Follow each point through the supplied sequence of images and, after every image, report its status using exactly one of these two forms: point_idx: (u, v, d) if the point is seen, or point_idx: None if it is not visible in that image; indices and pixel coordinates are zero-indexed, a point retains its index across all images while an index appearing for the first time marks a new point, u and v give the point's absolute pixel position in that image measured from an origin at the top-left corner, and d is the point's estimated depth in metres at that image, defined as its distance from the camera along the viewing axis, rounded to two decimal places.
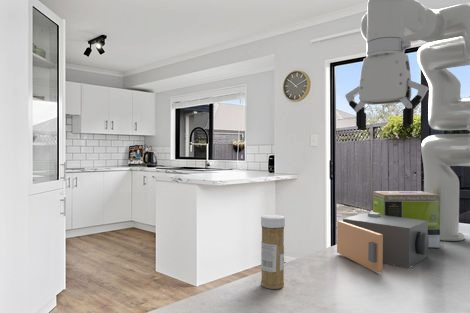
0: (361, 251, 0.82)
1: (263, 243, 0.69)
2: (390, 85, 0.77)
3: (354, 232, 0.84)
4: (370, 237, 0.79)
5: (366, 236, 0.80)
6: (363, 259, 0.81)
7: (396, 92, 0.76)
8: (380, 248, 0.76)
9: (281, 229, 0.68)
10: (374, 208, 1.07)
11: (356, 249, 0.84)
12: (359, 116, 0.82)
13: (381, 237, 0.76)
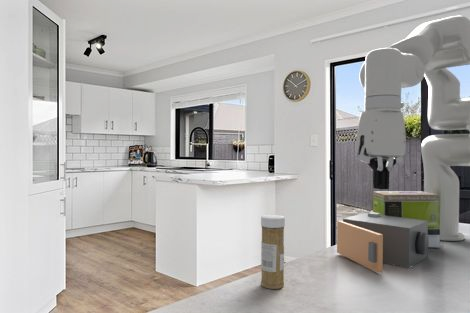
0: (361, 251, 0.82)
1: (263, 243, 0.69)
2: (397, 142, 0.79)
3: (354, 232, 0.84)
4: (370, 237, 0.79)
5: (366, 236, 0.80)
6: (363, 259, 0.81)
7: (400, 150, 0.80)
8: (380, 248, 0.76)
9: (281, 229, 0.68)
10: (374, 208, 1.07)
11: (356, 249, 0.84)
12: (384, 176, 0.79)
13: (381, 237, 0.76)
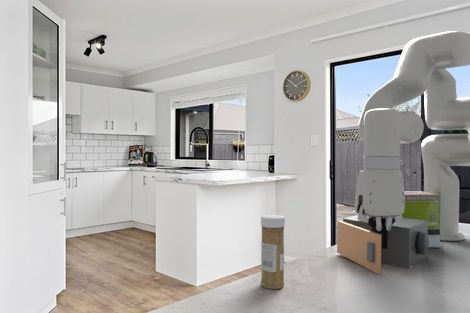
0: (360, 251, 0.82)
1: (263, 243, 0.69)
2: (395, 202, 0.79)
3: (353, 232, 0.84)
4: (369, 237, 0.79)
5: (365, 236, 0.80)
6: (362, 259, 0.81)
7: (399, 209, 0.79)
8: (378, 248, 0.76)
9: (281, 229, 0.68)
10: None
11: (355, 249, 0.84)
12: (382, 236, 0.79)
13: (379, 237, 0.76)
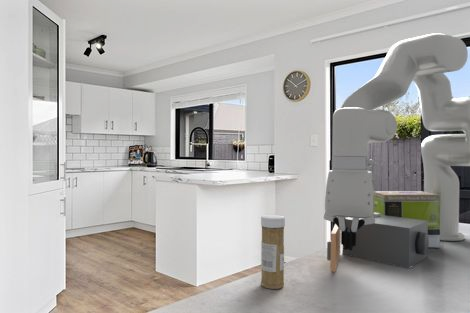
0: None
1: (263, 243, 0.69)
2: (358, 203, 0.76)
3: None
4: None
5: None
6: None
7: (364, 211, 0.76)
8: (333, 247, 0.77)
9: (281, 229, 0.68)
10: (374, 208, 1.07)
11: None
12: (345, 236, 0.78)
13: (334, 236, 0.77)
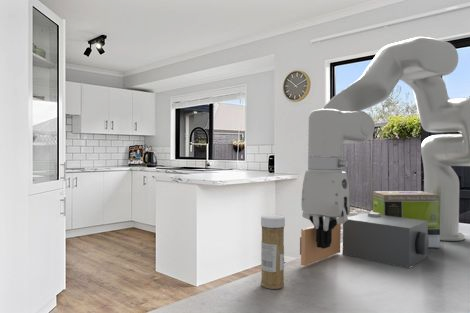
0: None
1: (263, 243, 0.69)
2: (327, 203, 0.78)
3: None
4: None
5: None
6: None
7: (332, 211, 0.77)
8: (303, 242, 0.81)
9: (281, 229, 0.68)
10: (374, 208, 1.07)
11: None
12: (318, 234, 0.80)
13: (303, 232, 0.81)
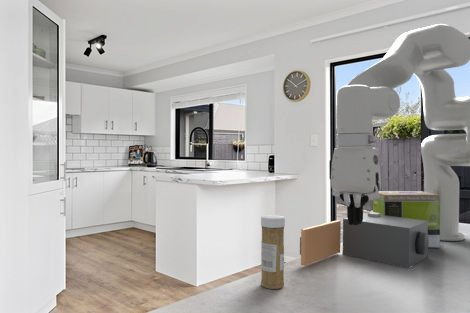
0: None
1: (263, 243, 0.69)
2: (359, 179, 0.78)
3: None
4: None
5: None
6: None
7: (364, 187, 0.77)
8: (302, 242, 0.81)
9: (281, 229, 0.68)
10: (374, 208, 1.07)
11: None
12: (350, 211, 0.80)
13: (303, 232, 0.81)
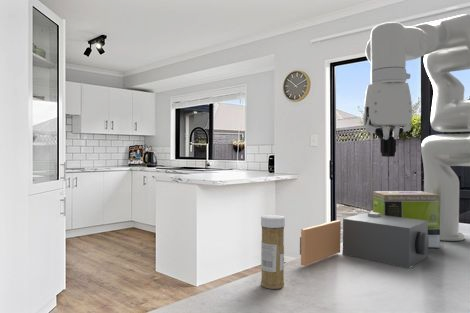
0: None
1: (263, 243, 0.69)
2: (401, 112, 0.84)
3: None
4: None
5: None
6: None
7: (406, 119, 0.84)
8: (302, 242, 0.81)
9: (281, 229, 0.68)
10: (374, 208, 1.07)
11: None
12: (389, 144, 0.84)
13: (303, 232, 0.81)
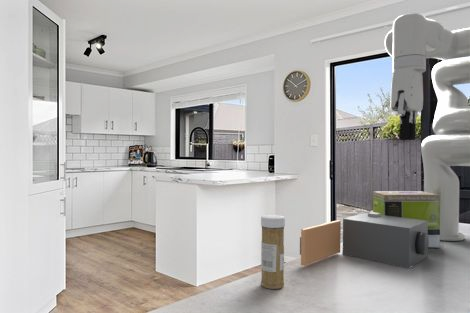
0: None
1: (263, 243, 0.69)
2: (421, 98, 0.90)
3: None
4: None
5: None
6: None
7: (421, 105, 0.91)
8: (302, 242, 0.81)
9: (281, 229, 0.68)
10: (374, 208, 1.07)
11: None
12: (413, 127, 0.89)
13: (303, 232, 0.81)
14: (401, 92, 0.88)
